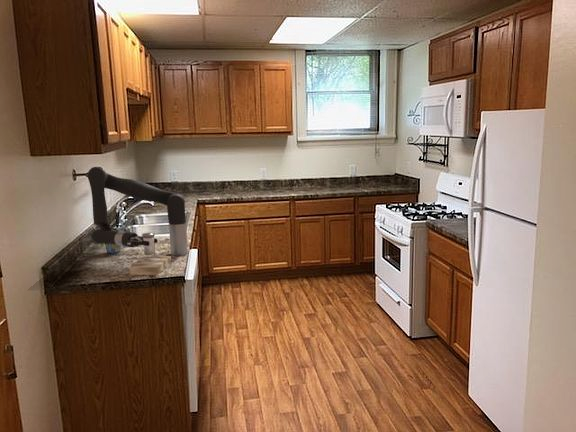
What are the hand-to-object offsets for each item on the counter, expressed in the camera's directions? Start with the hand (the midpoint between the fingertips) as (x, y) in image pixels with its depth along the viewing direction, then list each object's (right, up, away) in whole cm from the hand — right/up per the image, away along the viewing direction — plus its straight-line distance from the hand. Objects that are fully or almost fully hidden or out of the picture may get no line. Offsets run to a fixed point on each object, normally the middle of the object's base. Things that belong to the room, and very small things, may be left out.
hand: (152, 242), depth 223 cm
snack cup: (-33, -8, +38) cm, 51 cm away
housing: (-2, -6, +2) cm, 7 cm away
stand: (-2, -13, +4) cm, 14 cm away
